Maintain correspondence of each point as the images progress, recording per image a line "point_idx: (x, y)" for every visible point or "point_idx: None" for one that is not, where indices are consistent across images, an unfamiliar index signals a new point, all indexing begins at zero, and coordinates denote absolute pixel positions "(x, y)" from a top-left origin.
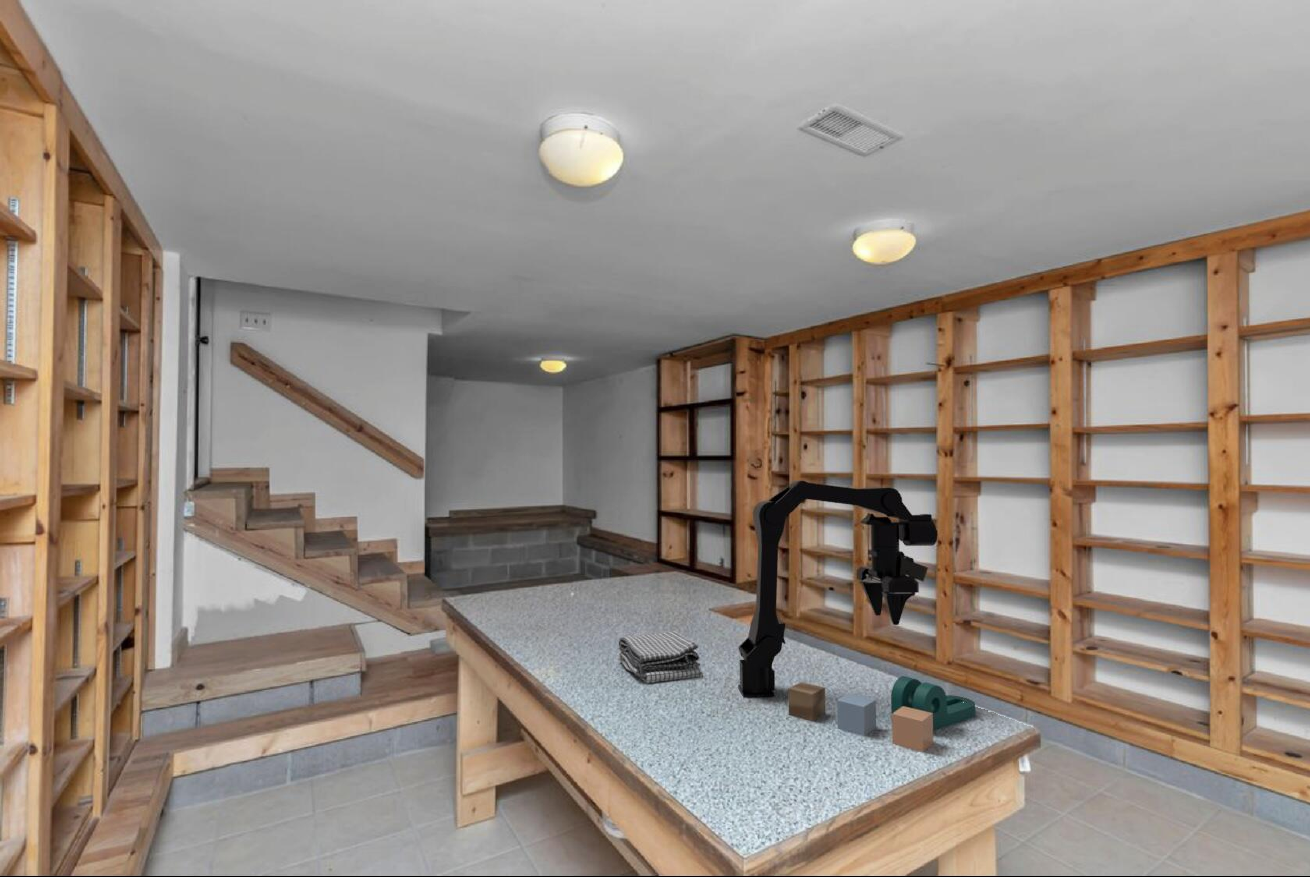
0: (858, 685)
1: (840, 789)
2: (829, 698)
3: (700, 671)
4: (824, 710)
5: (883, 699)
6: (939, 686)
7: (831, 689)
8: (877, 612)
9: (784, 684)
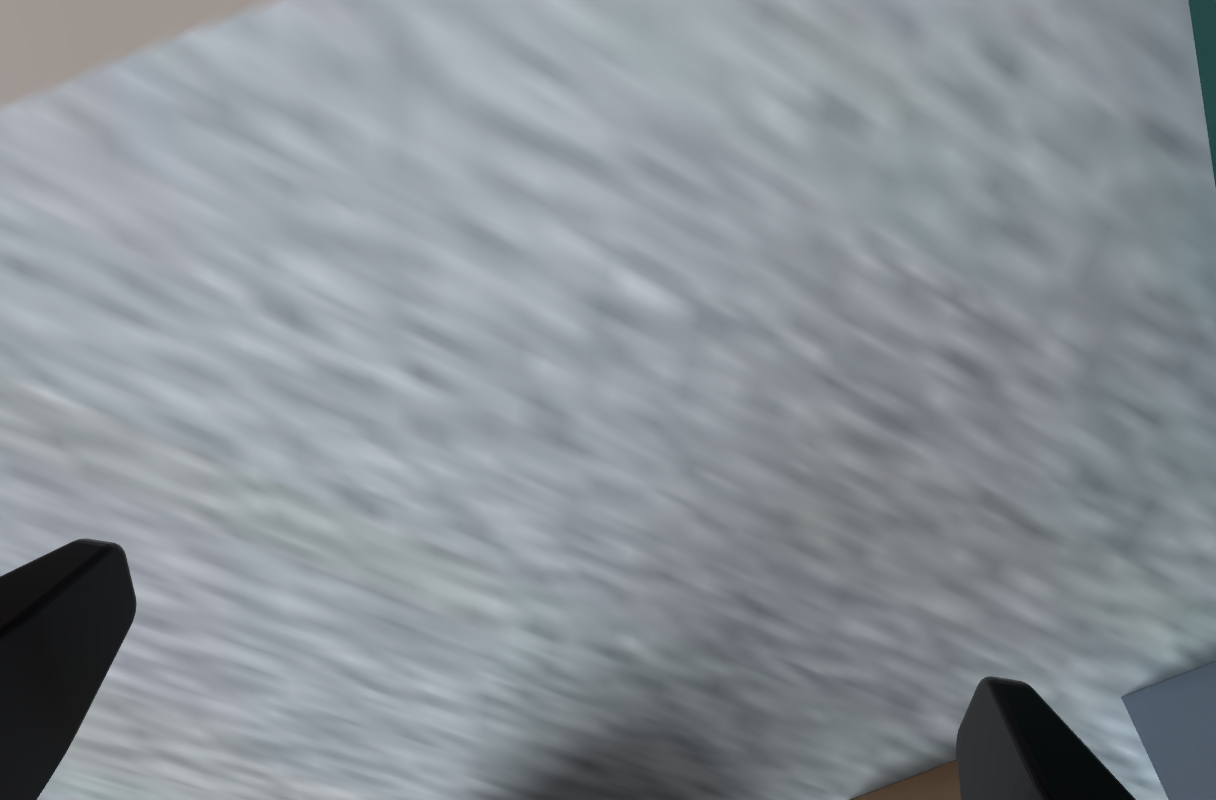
0: (502, 357)
1: None
2: (737, 636)
3: None
4: None
5: (848, 342)
6: None
7: (570, 558)
8: (103, 633)
9: (451, 734)
